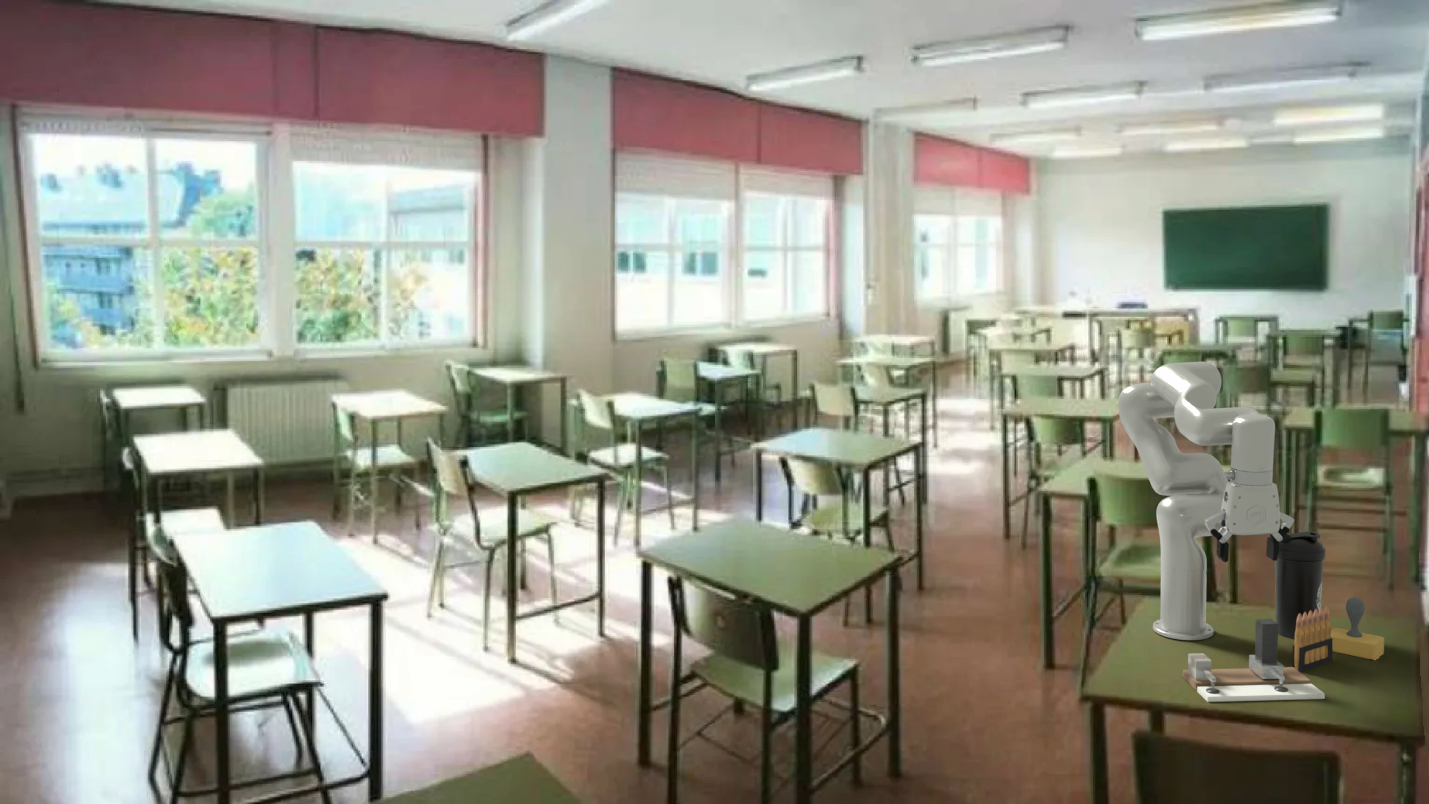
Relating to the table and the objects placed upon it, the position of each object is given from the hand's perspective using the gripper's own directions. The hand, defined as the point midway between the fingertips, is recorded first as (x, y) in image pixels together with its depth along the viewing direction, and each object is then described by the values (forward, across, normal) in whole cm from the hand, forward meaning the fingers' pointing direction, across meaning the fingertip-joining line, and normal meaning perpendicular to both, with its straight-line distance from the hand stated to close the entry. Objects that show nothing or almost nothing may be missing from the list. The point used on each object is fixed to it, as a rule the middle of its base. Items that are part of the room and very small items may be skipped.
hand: (1247, 559), depth 220 cm
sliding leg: (+22, +2, -8) cm, 23 cm away
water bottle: (+25, +22, +21) cm, 39 cm away
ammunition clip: (+24, +15, +2) cm, 29 cm away
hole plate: (+23, -2, -12) cm, 27 cm away
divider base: (+24, -2, -8) cm, 25 cm away
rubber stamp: (+25, +27, +9) cm, 38 cm away
